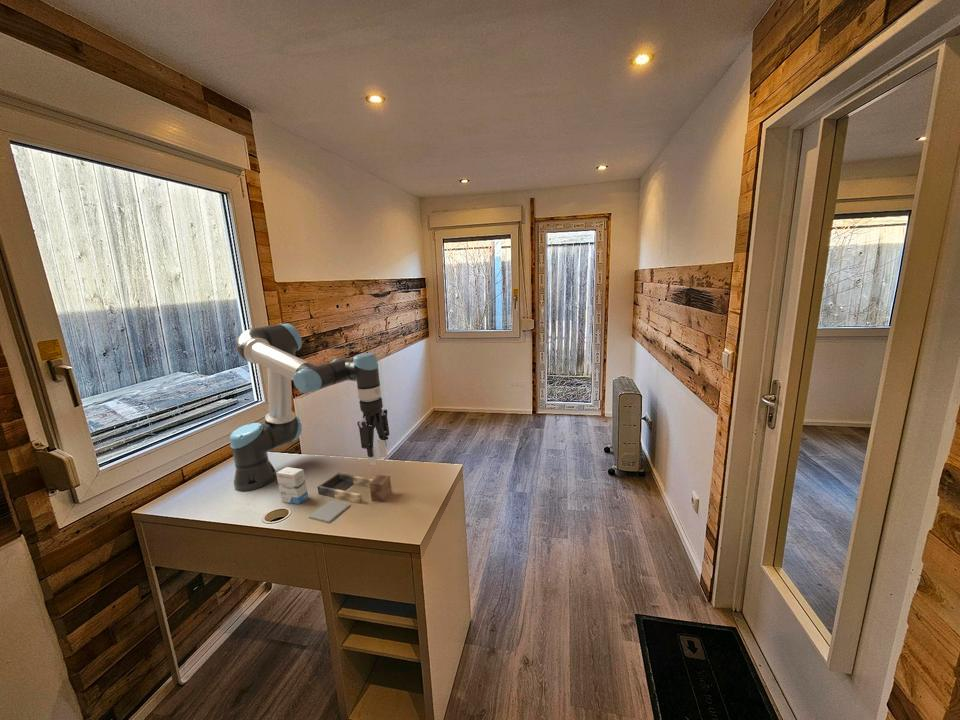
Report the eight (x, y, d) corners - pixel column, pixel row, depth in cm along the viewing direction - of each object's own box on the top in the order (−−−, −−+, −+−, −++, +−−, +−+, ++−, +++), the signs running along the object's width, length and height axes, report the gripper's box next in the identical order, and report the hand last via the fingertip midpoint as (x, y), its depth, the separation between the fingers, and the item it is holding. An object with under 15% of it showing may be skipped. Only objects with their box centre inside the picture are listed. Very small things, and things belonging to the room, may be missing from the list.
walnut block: (371, 501, 136) (369, 483, 134) (379, 492, 141) (377, 475, 140) (384, 502, 134) (382, 484, 133) (391, 493, 140) (389, 475, 139)
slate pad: (308, 517, 128) (308, 516, 128) (330, 501, 137) (330, 500, 137) (328, 523, 124) (328, 521, 124) (350, 506, 133) (349, 504, 133)
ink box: (309, 497, 141) (304, 468, 138) (299, 504, 136) (293, 475, 134) (291, 494, 144) (286, 466, 141) (280, 501, 139) (275, 472, 137)
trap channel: (318, 494, 142) (317, 486, 142) (339, 479, 152) (338, 472, 152) (360, 503, 135) (359, 495, 134) (379, 487, 144) (378, 480, 144)
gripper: (361, 407, 120) (370, 474, 125) (395, 391, 136) (402, 450, 141) (343, 406, 123) (352, 471, 127) (378, 390, 139) (385, 448, 144)
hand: (378, 460), depth 134 cm, fingers open, 5 cm apart
